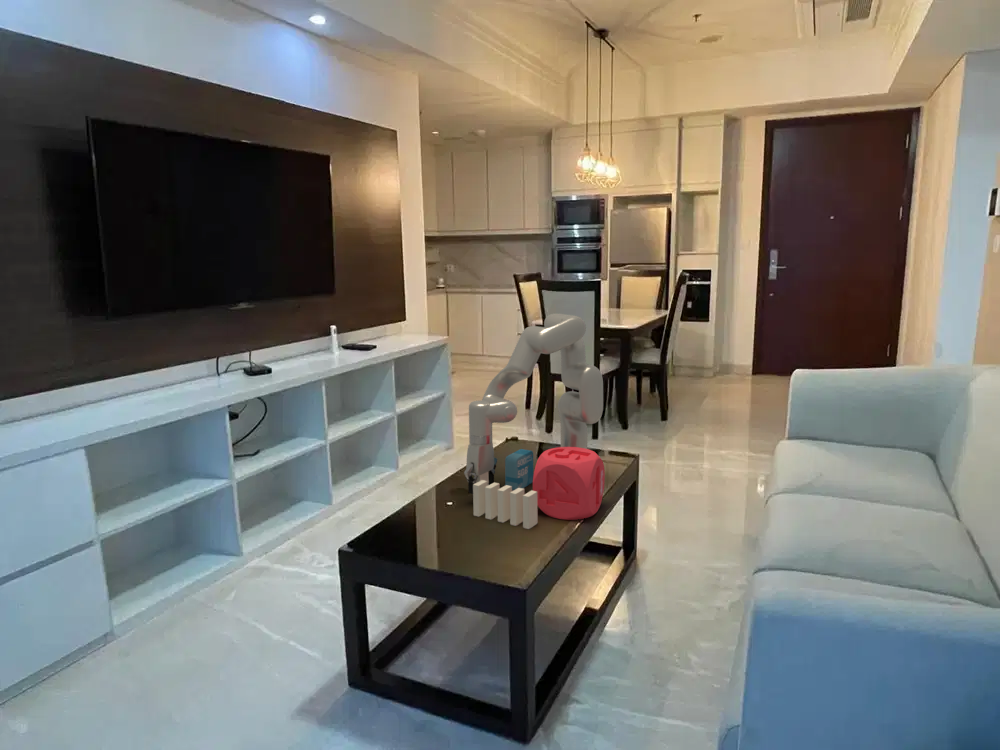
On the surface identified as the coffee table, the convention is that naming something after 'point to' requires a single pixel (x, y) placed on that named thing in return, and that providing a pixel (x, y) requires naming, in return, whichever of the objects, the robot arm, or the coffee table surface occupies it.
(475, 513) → the domino
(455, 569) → the coffee table surface
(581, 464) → the red foam number die
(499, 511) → the domino
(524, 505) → the domino
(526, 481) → the data package
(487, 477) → the domino
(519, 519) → the domino
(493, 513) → the domino
